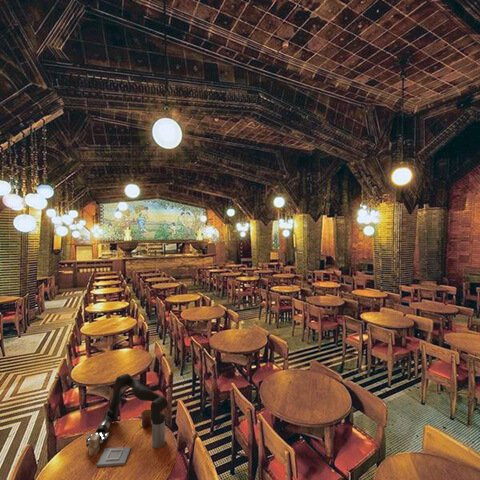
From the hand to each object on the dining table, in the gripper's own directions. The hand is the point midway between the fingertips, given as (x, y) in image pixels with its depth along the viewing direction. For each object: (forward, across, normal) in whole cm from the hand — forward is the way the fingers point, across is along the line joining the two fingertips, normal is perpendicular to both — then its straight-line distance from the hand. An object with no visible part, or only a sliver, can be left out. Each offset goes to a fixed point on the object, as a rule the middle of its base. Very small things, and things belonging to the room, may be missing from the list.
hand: (93, 445), depth 193 cm
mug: (-27, +32, +6) cm, 42 cm away
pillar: (-1, 0, +6) cm, 6 cm away
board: (+5, +16, +6) cm, 18 cm away
